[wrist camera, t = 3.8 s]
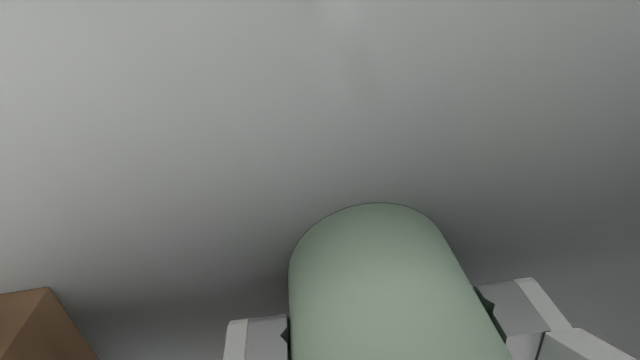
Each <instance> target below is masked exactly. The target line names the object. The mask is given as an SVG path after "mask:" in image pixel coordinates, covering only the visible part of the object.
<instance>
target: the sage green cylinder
mask: <svg viewBox="0 0 640 360" xmlns="http://www.w3.org/2000/svg"><path fill="white" fill-rule="evenodd" d="M288 285H289V321H290V357H291V360H514V359H513V358H512V356H511V354H510V352H509V351H508V349H507V347H506V345H505V343H504V342H503V340H502V338H501V336H500V335H499V333H498V331H497V329H496V328H495V326H494V324H493V322H492V321H491V319H490V317H489V315H488V314H487V312H486V310H485V308H484V307H483V305H482V303H481V301H480V300H479V298H478V296H477V294H476V293H475V291H474V289H473V287H472V285H471V284H470V282H469V280H468V278H467V277H466V275H465V273H464V271H463V270H462V268H461V266H460V264H459V263H458V261H457V259H456V257H455V256H454V254H453V252H452V250H451V249H450V247H449V245H448V243H447V242H446V240H445V238H444V236H443V235H442V233H441V231H440V230H439V228H438V227H437V226H436V225H435V223H434V222H433V221H431V220H430V219H429V218H428V217H427V216H425V215H423V214H422V213H420V212H418V211H416V210H414V209H411V208H409V207H405V206H401V205H397V204H390V203H369V204H361V205H356V206H352V207H349V208H345V209H342V210H340V211H337V212H335V213H333V214H331V215H329V216H327V217H325V218H324V219H322V220H320V221H319V222H318V223H316V224H315V225H314V226H312V227H311V228H310V229H309V230H308V231H307V232H306V233H305V234H304V235H303V236H302V238H301V239H300V240H299V241H298V243H297V245H296V246H295V248H294V250H293V252H292V255H291V258H290V262H289V268H288Z"/></svg>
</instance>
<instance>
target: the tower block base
mask: <svg viewBox="0 0 640 360" xmlns="http://www.w3.org/2000/svg"><path fill="white" fill-rule="evenodd" d="M0 360H98V358H97V357H96V355H95V354H94V352H93V351H92V349H91V348H90V346H89V345H88V343H87V342H86V340H85V339H84V337H83V336H82V334H81V333H80V331H79V330H78V328H77V327H76V325H75V324H74V322H73V321H72V319H71V318H70V317H69V315H68V314H67V312H66V311H65V309H64V308H63V306H62V305H61V303H60V302H59V300H58V299H57V297H56V296H55V294H54V293H53V291H52V290H51V288H50V287H43V288H37V289H30V290H24V291H17V292H10V293H4V294H0Z"/></svg>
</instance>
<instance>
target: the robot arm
mask: <svg viewBox="0 0 640 360" xmlns="http://www.w3.org/2000/svg"><path fill="white" fill-rule="evenodd" d="M473 289H474V291H475V293H476V294H477V296H478V298H479V300H480V301H481V303H482V305H483V307H484V308H485V310H486V312H487V314H488V315H489V317H490V319H491V321H492V322H493V324H494V326H495V328H496V329H497V331H498V333H499V335H500V336H501V338H502V340H503V342H504V343H505V345H506V347H507V349H508V351H509V352H510V354H511V356H512V358H513V359H514V360H637V359H635V358H633V357H632V356H630V355H628V354H626V353H624V352H623V351H621V350H619V349H617V348H615V347H614V346H612V345H610V344H608V343H606V342H605V341H603V340H601V339H599V338H597V337H596V336H594V335H592V334H590V333H588V332H587V331H585V330H583V329H581V328H580V327H579V328H573V327H572V326H571V324H570V323H569V322H568V321H567V319H566V318H565V317H564V315H563V314H562V313H561V312H560V310H559V309H558V308H557V307H556V305H555V304H554V303H553V301H552V300H551V299H550V298H549V296H548V295H547V294H546V293H545V291H544V290H543V289H542V288H541V286H540V285H539V284H538V282H537V281H536V280H535V279H533V278H532V277H528V278H521V279H514V280H505V281H499V282H493V283H487V284H480V285H474V286H473ZM223 360H291V357H290V321H289V316H288V314H279V315H271V316H262V317H254V318H247V319H239V320H232V321H230V322H229V324H228V326H227V332H226V339H225V347H224V354H223Z"/></svg>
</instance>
